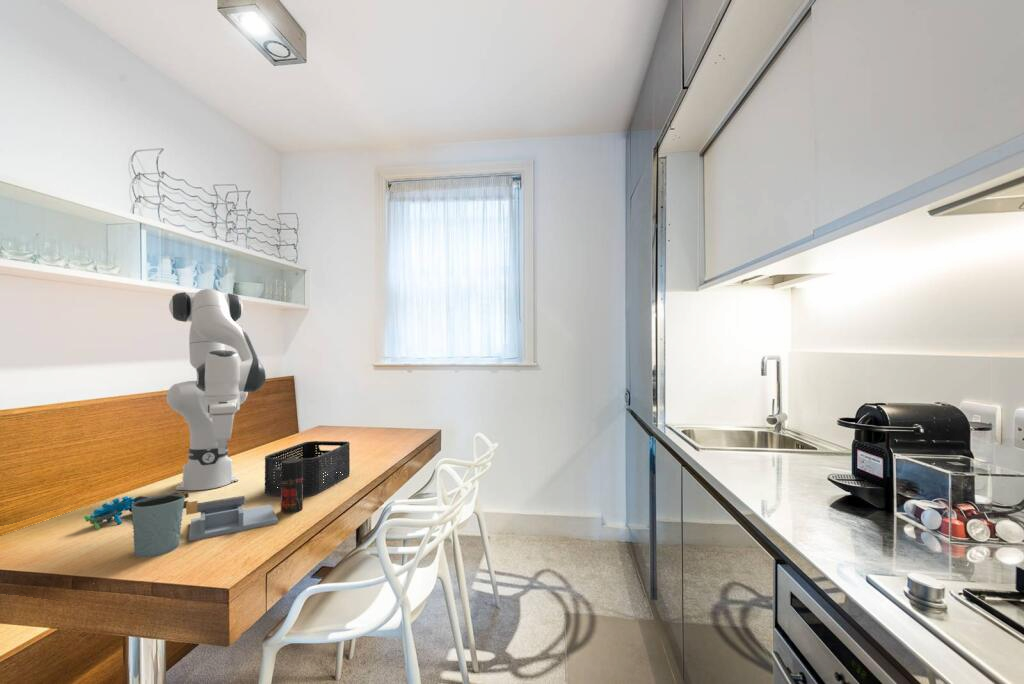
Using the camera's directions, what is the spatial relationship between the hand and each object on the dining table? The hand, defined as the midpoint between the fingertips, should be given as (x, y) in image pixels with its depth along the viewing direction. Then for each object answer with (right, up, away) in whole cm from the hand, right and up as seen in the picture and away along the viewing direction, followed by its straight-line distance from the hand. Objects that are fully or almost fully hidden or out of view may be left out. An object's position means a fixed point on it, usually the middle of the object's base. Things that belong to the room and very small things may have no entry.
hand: (221, 452), depth 127 cm
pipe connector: (-21, -20, +5) cm, 30 cm away
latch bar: (+3, -14, -7) cm, 16 cm away
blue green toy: (-29, -20, -4) cm, 35 cm away
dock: (+7, -19, -5) cm, 21 cm away
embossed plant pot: (-1, -19, -22) cm, 28 cm away
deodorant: (+18, -19, +5) cm, 27 cm away
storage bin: (+11, -21, +33) cm, 40 cm away
